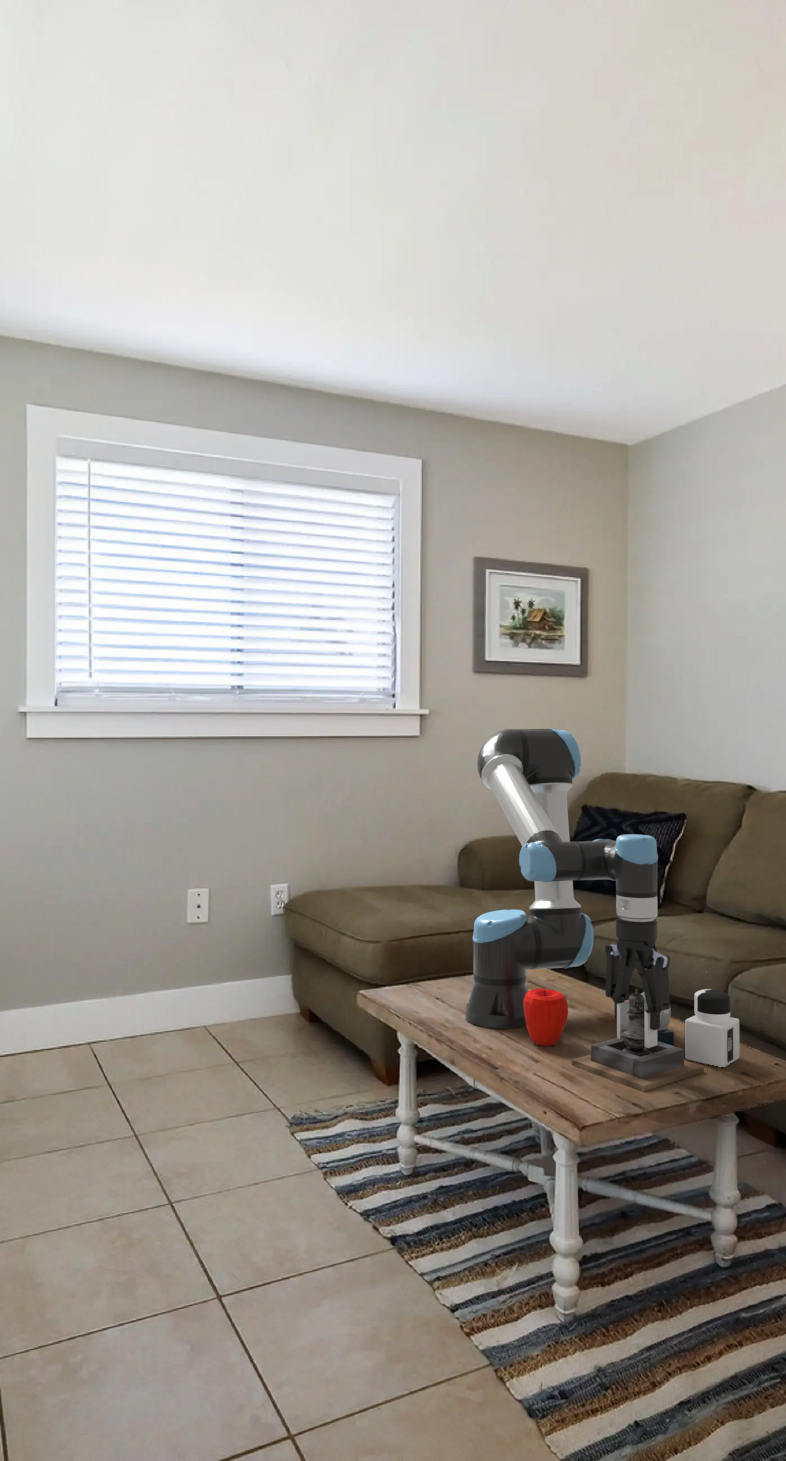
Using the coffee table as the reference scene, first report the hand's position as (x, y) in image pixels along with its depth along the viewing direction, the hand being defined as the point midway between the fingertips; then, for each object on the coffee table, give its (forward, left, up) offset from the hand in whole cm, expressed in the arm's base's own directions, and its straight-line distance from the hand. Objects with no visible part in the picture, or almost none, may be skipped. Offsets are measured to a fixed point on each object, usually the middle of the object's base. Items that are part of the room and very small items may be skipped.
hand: (636, 1041), depth 178 cm
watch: (-7, +14, -5) cm, 16 cm away
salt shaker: (0, 0, -2) cm, 2 cm away
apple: (-21, -3, -5) cm, 22 cm away
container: (+5, +16, -5) cm, 18 cm away
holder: (0, 0, -5) cm, 5 cm away
